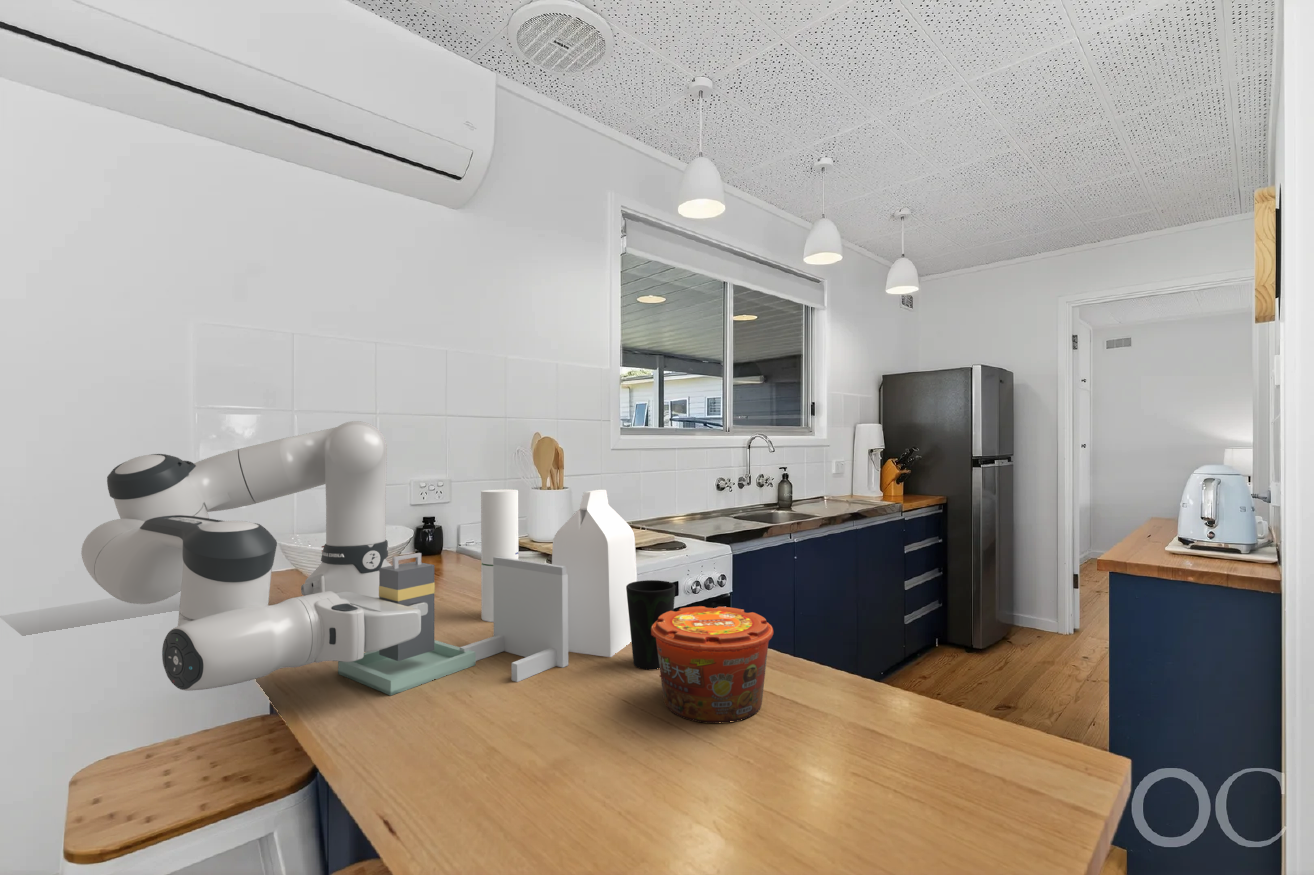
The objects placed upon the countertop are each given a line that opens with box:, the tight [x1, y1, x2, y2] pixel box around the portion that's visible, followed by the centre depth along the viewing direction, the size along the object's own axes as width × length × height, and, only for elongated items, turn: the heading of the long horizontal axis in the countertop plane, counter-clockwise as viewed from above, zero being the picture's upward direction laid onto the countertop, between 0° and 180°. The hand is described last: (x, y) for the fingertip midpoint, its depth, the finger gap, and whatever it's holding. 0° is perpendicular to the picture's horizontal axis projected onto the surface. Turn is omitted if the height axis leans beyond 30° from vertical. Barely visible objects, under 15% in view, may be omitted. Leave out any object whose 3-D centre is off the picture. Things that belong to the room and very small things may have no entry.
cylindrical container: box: [480, 488, 519, 623], centre depth 121 cm, size 7×7×25 cm
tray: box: [337, 639, 477, 696], centre depth 93 cm, size 14×14×2 cm
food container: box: [651, 605, 774, 724], centre depth 80 cm, size 16×16×11 cm
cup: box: [626, 579, 676, 671], centre depth 95 cm, size 8×8×12 cm
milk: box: [551, 489, 638, 658], centre depth 105 cm, size 12×12×26 cm
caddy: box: [379, 552, 436, 661], centre depth 93 cm, size 5×6×15 cm
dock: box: [460, 556, 569, 683], centre depth 95 cm, size 16×9×15 cm, turn 54°
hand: (412, 604), depth 93 cm, fingers closed on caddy, 5 cm apart
